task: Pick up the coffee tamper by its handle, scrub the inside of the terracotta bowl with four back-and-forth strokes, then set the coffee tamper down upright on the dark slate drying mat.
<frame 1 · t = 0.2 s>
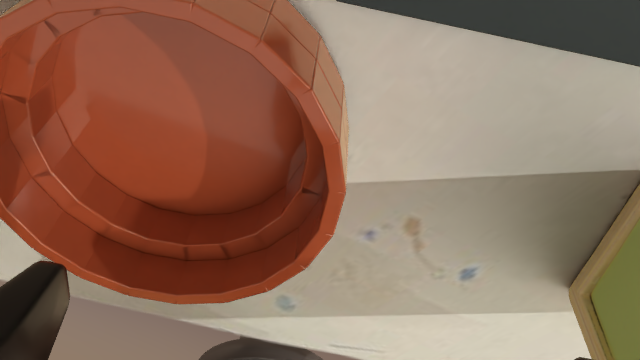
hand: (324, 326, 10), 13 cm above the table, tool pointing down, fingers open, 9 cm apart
bowl: (186, 112, 23), on the table
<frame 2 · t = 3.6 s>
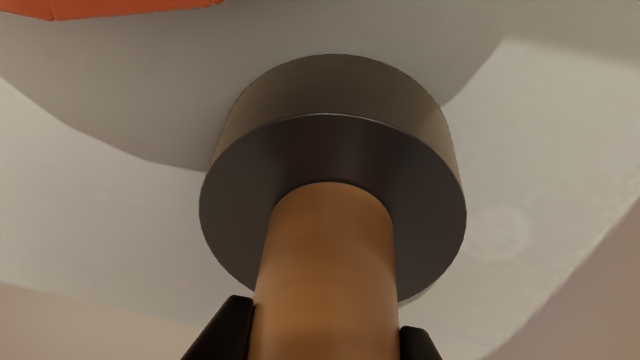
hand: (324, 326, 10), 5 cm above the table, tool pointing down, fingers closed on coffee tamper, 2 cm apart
coffee tamper: (335, 159, 14), on the table, touching gripper
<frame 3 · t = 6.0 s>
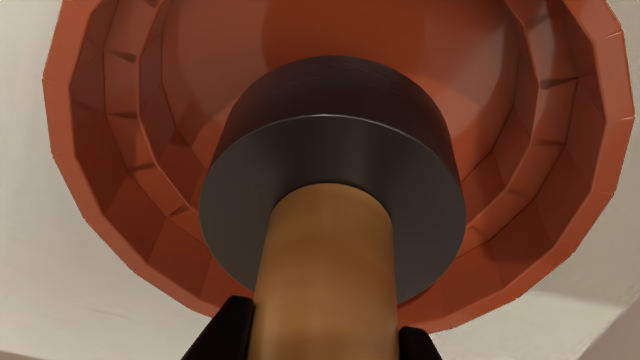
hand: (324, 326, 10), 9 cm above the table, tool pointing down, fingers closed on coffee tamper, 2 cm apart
bowl: (336, 83, 17), on the table
coffee tamper: (335, 160, 14), point 4 cm above the table, touching gripper
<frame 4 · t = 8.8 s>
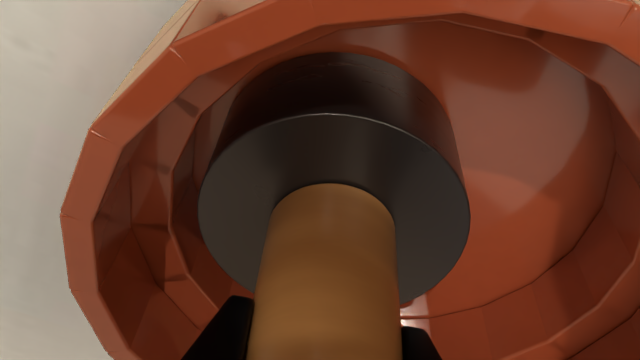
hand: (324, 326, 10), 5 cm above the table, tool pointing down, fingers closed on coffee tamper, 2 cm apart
bowl: (394, 176, 14), on the table
coffee tamper: (336, 159, 13), point 1 cm above the table, touching gripper
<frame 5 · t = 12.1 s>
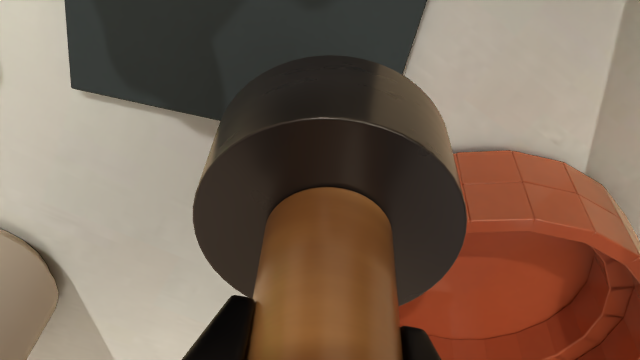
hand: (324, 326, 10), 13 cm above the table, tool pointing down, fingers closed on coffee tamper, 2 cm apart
bowl: (471, 261, 26), on the table
coffee tamper: (331, 161, 13), point 8 cm above the table, touching gripper
when the fingers open (5 cm above the table, at t = 14.3 s): coffee tamper stays where it is, resting on mat.
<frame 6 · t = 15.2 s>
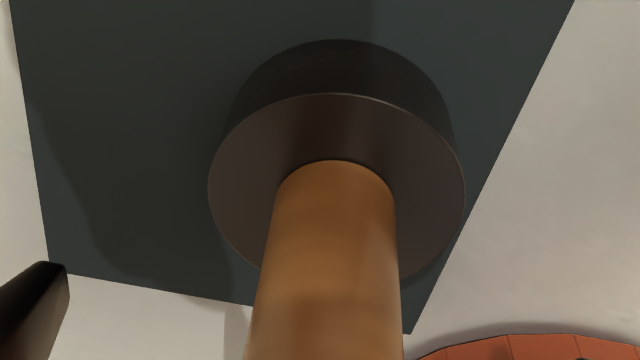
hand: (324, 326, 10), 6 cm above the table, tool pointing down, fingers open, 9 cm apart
mat: (270, 84, 14), on the table
coffee tamper: (338, 142, 14), resting on mat
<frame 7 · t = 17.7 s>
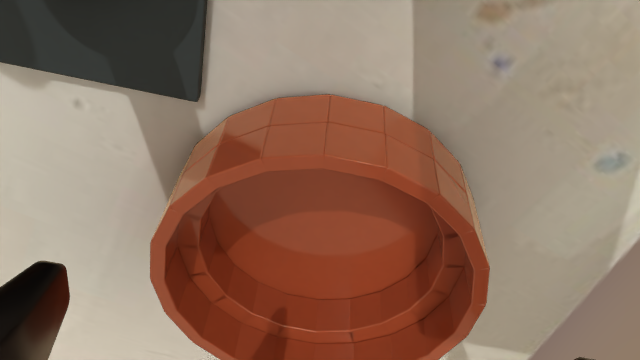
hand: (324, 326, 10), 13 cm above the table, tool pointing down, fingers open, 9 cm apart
bowl: (323, 216, 25), on the table
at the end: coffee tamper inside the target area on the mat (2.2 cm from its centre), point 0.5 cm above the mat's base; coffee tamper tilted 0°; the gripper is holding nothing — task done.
